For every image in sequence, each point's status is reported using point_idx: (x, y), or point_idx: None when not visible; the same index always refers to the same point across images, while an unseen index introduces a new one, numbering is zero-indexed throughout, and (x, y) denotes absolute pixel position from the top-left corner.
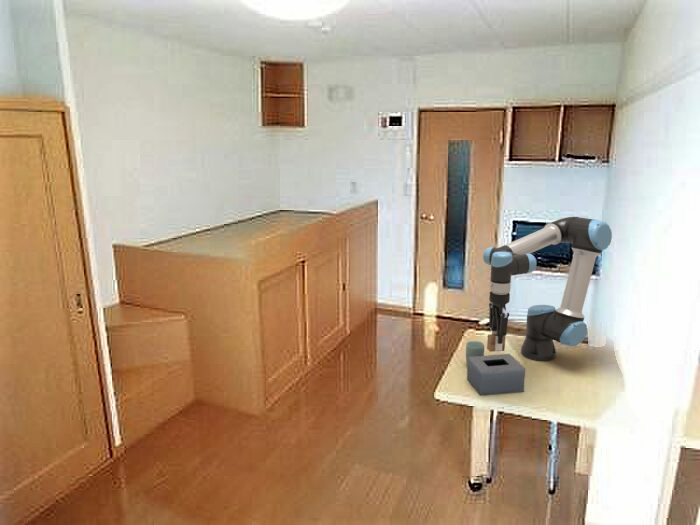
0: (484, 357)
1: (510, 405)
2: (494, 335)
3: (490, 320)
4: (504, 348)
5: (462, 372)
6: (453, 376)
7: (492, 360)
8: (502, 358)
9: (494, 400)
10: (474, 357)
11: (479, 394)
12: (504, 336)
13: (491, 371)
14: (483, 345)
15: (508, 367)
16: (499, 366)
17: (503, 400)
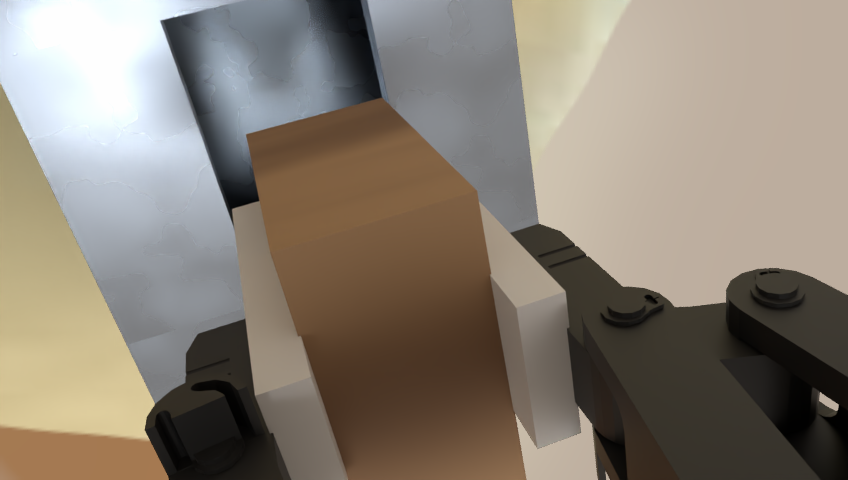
0: (155, 275)
1: (613, 5)
2: (414, 431)
3: None
4: (395, 111)
5: (30, 340)
6: (138, 403)
7: (216, 177)
8: (147, 33)
9: (533, 118)
10: (176, 384)
11: None
12: (469, 216)
13: (537, 222)
14: None
15: (449, 7)
16: (421, 120)
17: (537, 46)
